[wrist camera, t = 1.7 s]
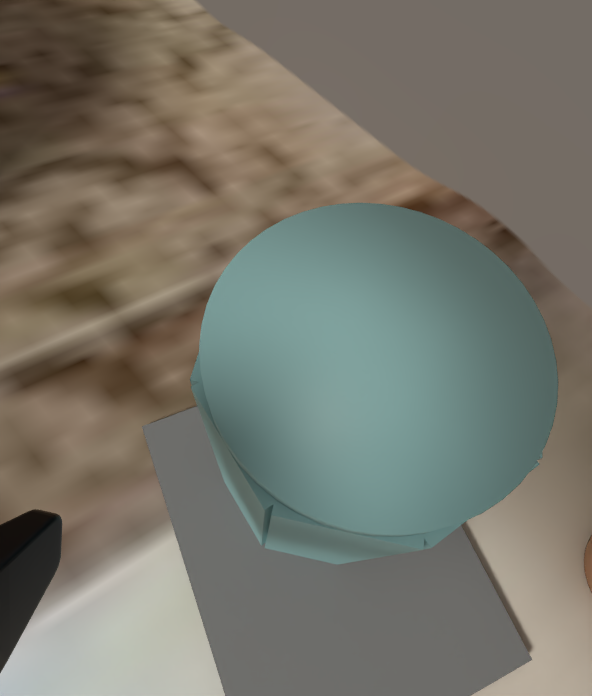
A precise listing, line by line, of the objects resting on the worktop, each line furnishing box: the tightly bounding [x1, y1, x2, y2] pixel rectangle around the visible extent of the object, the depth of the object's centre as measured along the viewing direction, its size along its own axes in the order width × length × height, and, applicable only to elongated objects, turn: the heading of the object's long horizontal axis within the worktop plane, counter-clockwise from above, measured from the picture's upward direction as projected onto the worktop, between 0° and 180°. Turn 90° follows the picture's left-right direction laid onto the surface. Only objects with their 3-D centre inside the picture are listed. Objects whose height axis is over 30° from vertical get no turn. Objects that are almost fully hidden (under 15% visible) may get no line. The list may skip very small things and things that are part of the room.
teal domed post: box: [190, 203, 558, 565], centre depth 14 cm, size 7×7×11 cm
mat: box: [142, 406, 532, 696], centre depth 19 cm, size 13×10×1 cm
